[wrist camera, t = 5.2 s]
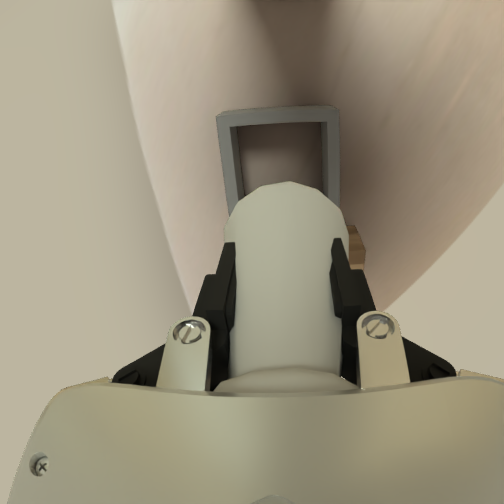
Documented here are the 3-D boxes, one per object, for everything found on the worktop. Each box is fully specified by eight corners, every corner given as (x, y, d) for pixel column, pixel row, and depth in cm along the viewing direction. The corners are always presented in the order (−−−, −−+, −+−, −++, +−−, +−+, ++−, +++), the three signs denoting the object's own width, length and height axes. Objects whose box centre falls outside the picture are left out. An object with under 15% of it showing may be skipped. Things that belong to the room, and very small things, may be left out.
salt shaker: (333, 159, 14) (451, 417, 3) (343, 257, 17) (391, 493, 6) (218, 179, 15) (103, 433, 4) (243, 271, 18) (205, 503, 7)
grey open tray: (223, 111, 26) (215, 116, 23) (330, 105, 25) (339, 109, 22) (235, 206, 31) (230, 224, 28) (332, 202, 30) (339, 219, 27)
